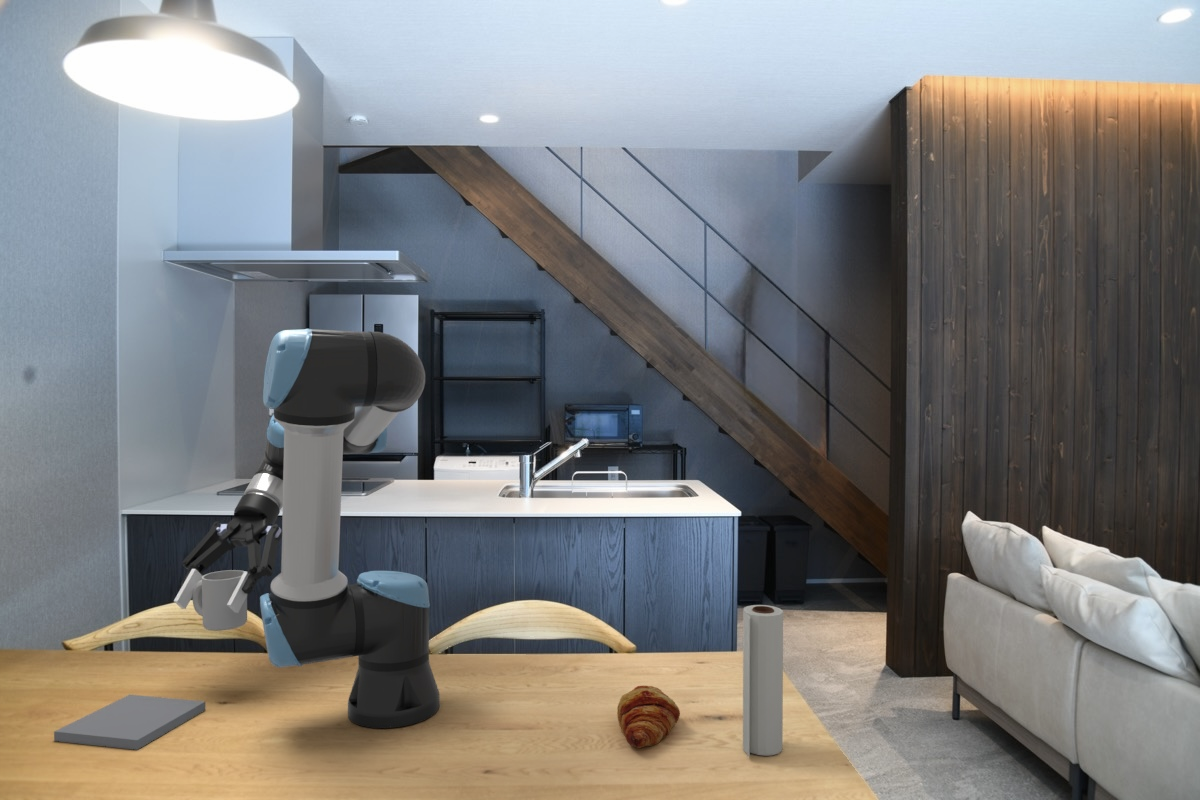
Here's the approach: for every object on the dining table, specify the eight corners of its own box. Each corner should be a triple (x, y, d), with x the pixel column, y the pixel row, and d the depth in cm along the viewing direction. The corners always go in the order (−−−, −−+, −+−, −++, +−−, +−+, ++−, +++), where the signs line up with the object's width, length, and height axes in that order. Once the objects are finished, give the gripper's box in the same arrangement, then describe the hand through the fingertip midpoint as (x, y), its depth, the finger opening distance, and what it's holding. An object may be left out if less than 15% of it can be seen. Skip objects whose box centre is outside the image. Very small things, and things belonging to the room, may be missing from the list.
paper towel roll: (768, 736, 124) (769, 601, 124) (790, 753, 119) (791, 612, 118) (728, 743, 122) (728, 606, 122) (748, 761, 116) (749, 617, 116)
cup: (229, 632, 136) (228, 581, 136) (179, 628, 138) (178, 578, 138) (256, 619, 143) (255, 571, 143) (208, 616, 145) (207, 568, 145)
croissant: (638, 720, 139) (617, 678, 140) (688, 697, 138) (667, 655, 138) (621, 776, 118) (597, 727, 119) (681, 749, 117) (656, 700, 117)
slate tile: (205, 710, 134) (205, 701, 134) (137, 750, 120) (137, 740, 120) (129, 703, 137) (129, 694, 137) (54, 741, 123) (54, 731, 123)
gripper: (322, 516, 153) (272, 621, 138) (220, 512, 158) (162, 613, 143) (305, 492, 147) (252, 599, 133) (201, 489, 152) (138, 592, 138)
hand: (205, 606), depth 138 cm, fingers closed on cup, 10 cm apart
